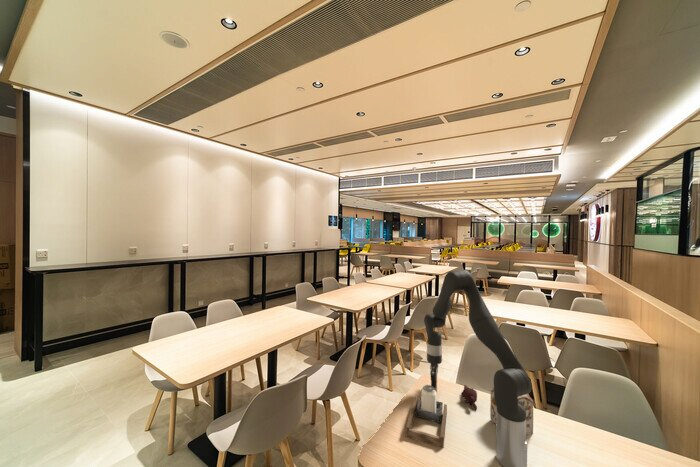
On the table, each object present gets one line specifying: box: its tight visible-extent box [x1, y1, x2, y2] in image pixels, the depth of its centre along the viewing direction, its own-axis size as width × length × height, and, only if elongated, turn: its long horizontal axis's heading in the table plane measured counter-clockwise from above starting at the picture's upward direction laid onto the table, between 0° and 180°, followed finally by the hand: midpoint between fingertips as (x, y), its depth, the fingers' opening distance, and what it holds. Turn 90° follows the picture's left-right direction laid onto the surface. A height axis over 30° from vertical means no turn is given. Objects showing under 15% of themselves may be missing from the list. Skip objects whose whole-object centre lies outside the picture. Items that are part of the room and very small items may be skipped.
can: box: [420, 384, 437, 413], centre depth 125 cm, size 6×6×12 cm
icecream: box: [460, 384, 478, 411], centre depth 135 cm, size 7×7×15 cm
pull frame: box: [415, 375, 444, 424], centre depth 133 cm, size 10×26×10 cm, turn 157°
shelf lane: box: [405, 397, 448, 449], centre depth 118 cm, size 14×22×4 cm, turn 157°
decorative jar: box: [489, 387, 534, 436], centre depth 118 cm, size 12×12×18 cm
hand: (434, 385), depth 143 cm, fingers closed on pull frame, 3 cm apart
